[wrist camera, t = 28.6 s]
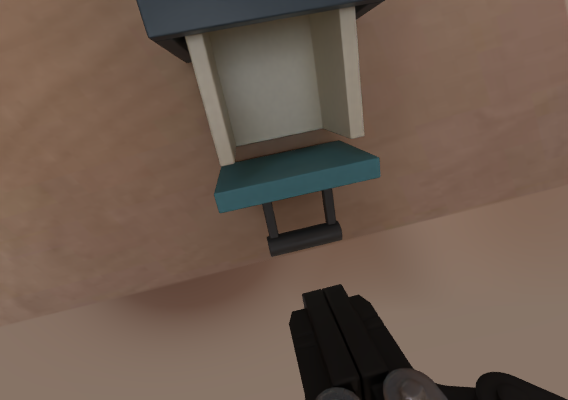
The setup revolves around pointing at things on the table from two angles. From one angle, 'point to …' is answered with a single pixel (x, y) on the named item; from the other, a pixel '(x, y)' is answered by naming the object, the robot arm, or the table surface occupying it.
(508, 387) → the robot arm
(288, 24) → the drawer
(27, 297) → the table surface
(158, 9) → the dark grey drawer cabinet
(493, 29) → the table surface
